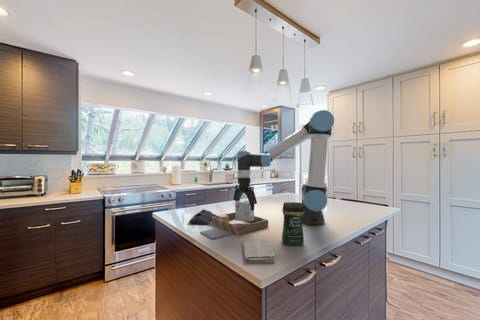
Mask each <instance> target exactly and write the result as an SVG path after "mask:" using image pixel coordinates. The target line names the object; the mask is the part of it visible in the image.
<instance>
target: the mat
mask: <svg viewBox="0 0 480 320" xmlns="http://www.w3.org/2000/svg"><path fill="white" fill-rule="evenodd" d="M200 234H201V235H202V236H206V237H207V238H208V239H210V240H218V239H221V238H225V237H228V236H231V235H234V233H232V232H230V231H227V230H225V229H223V228H221V227H216V228H211V229H207V230H203V231H200Z"/></svg>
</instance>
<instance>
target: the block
mask: <svg viewBox="0 0 480 320" xmlns="http://www.w3.org/2000/svg"><path fill="white" fill-rule="evenodd" d="M225 214H226V213H224V214H218V215H217V214H216V215H217V218H218V219H220V220H223V221H225V222H228V223H230V220H229V216H228V215H225Z"/></svg>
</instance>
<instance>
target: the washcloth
mask: <svg viewBox="0 0 480 320" xmlns="http://www.w3.org/2000/svg"><path fill="white" fill-rule="evenodd" d="M242 248H243V254H244V263H246V264H248V263H249V264H275V262H276V260H275V257H276V253H275V251H274V248H273V246H272V245H271V243H270V241H269V240H257V241H253V240H252V241H251V240H250V241H248V240H247V241H242Z"/></svg>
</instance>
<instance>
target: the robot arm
mask: <svg viewBox="0 0 480 320" xmlns="http://www.w3.org/2000/svg"><path fill="white" fill-rule="evenodd" d="M334 117H335V116H334V115H333V114H332V112H330V111H329V110H327V109H319V110H316V111H315V112H313V113H312V114H311V116H310V119H309V120H307V122H306V123H305V124H303V125H301V127H300V129H298V130H297V131H295V132H294V133H292V134H290V135H288V137H286V138H284V139H282V140H281V141H279V142H278V143H276V144H275V145H273V146H271V147H270V148H269V149H267V150H266V151H263V152H262V153H251V151H249V150H239V151H237V154H236V155H237V158H236V161H237V184H235V189H234V194H233V199H232V200H234V201H235V202H236V201H241V197H242V196H243V194H245V196H246V197H247V198H246V199H247V201H249V202H250V204H249V216H255V205H257V203H258V201H257V198H256V194H255V189H254V186H250V185H251V168H255V167H256V168H262V167H263V168H266V167H270V166H271V165H272V162H273V161H275V160H277V159H278V158H280V157H281V156H283V155H284V154H287V153H288V152H290V151H291V150H292V149H294V148H295V147H298V146H299V145H300V144H302V143H304V142H305V141H307V140H310V149H309V150H310V151H309V161H308V163H309V165H308V173H307V174H308V176H307V182H305V183H303V184H301V188H300V189H301V203H302V204H303V207H304V214H303V217H302V225H303V224H304V225H308V226H323V225H325V223H326V219H325V216H324V214H323V213H324V212H323V210H324V209H325V208H326V206H327V204H328V197H327V188H328V186H327V185H326V184H325V180H326V179H325V176H326V167H327V166H326V165H327V156H328V155H327V154H328V140H329V139H330V138H331V137H332V131H333V129H332V128H333V127H334V124H335V118H334Z"/></svg>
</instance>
